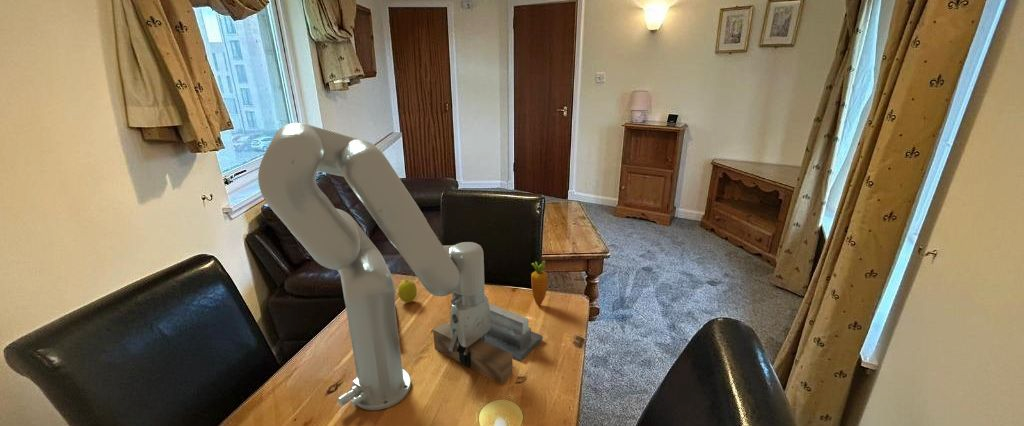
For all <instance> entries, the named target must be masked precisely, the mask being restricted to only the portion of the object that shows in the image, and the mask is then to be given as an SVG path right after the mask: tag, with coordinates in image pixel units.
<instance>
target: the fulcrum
mask: <svg viewBox="0 0 1024 426" xmlns="http://www.w3.org/2000/svg"><path fill="white" fill-rule="evenodd" d="M489 308H490V317H491V328H490V330H489V331H488V332H487V333H486V334H485V336H484V337H485V340H484V341H485V342H487V343H490V344H492V345H494V346H496V347H498V348H500V349H502V350H505V351H507V352H509V353H511V354H512V359H513V358H514V359H516V360H518V361H520V362H522V361H523V360H524V359H525V358H526V357H527V356H528V355H529V354H530V353H532V351H534V349H535V348H536V347H537V346H538V345H540V343H542V342H543V335H542V334H539V333H537V332H534V331H532V327H529V318H527V317H525V316H522V315H520V314H517V313H515V312H514V311H513V312H512V311H510V310H507V309H505V308H502V307H499V306H497V305H495V304H492V303H490V302H489Z"/></svg>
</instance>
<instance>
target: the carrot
mask: <svg viewBox="0 0 1024 426" xmlns="http://www.w3.org/2000/svg"><path fill="white" fill-rule="evenodd" d="M545 264H546V261H545V260H542V262H541V263H540V264H539V263H538V262H537V261H534V262H532V263H531V266H532V267H533V269H534V271H533V272H532V273H531V275H530V276H531V277H530V278H531V279H530V280H531V291H532V295H533V298H534V302H535V304H536V305H537V306H538V307H539V306H541V305H542V304H543V301H544V300H545V298H546V294H547V290H548V274H547V272H546V271H544V268H545Z"/></svg>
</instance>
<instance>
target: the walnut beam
mask: <svg viewBox="0 0 1024 426" xmlns="http://www.w3.org/2000/svg"><path fill="white" fill-rule="evenodd" d="M432 331H433V332H432V333H433V344H434V350H436V351H438V352H440V353H442V354H444V355H445V356H448V357H450V358H451V359H454V360H455V361H457V362H459V363H460V360H459V352H452V351H450V350H449V346H450V343H451V334H450V323H447V322H443V323H440V324H439V325H438V326H436V327H435V328H433V329H432ZM462 348H464V347H463V346H462ZM469 353H470V359H471V367H469V368H471V369H472V370H475V371H476V372H478V373H480V374H481V375H484V376H486V378H487V377H488V378H490V379H491V380H493V381H495V382H497V383H499V384H501V385H503V384H504V383H505V382H507V381H508V380H509V379H510V378H511V377H512V375H513V357H512V354H511V353H509V352H507V351H505V350H502V349H500V348H498V347H496V346H494V345H492V344H490V343H487V342H485V341H483V340H481V339H478V340H477V341H475V342H474V343H473V344H471V345H470V346H469Z"/></svg>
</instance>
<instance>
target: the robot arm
mask: <svg viewBox="0 0 1024 426" xmlns="http://www.w3.org/2000/svg"><path fill="white" fill-rule="evenodd" d="M318 172H321V173H324V174H328V175H333V176H339V177H343V178H344V180H345V182H346V183H347V184H348V186H349V187H350V189H351V190H352V191H353V193H354V194H355V196H356V197H357V198H358V199H359V201H360V202H361V203H362V205H363V206H364V208H365V209H366V210H367V211H368V213H369V214H370V216H371V217H372V219H373V220H374V221H375V222H376V224H377V226H378V227H379V228H380V229H381V231H382V232H383V234H384V235H385V237H386V238H387V239H388V241H389V242H390V243H391V244H392V246H394V248H396V250H397V251H398V252H399V254H400V256H401V257H403V259H404V261H405V262H406V264H407V265H408V266H409V268H410V269H411V271H412V272H413V273H414V275H415V276H416V277H417V279H418V280H419V282H420V283H421V284H422V286H423V287H424V288H425V290H426V292H428V293H429V294H430V295H433V296H435V297H446V296H447V297H448V296H449V295H451V296H452V299H451V300H450V303H451V306H450V307H451V308H450V317H449V325H450V334H451V343H450V346H449V350H450V351H452V352H459V360H460V362H459V364H461V365H463V366H464V367H466V368H470V367H471V359H470V353H469V346H470V345H471V344H473V343H474V342H475V341H477V340H478V339H481V340H483V341H484V340H485V337H484V336H485V334H486V333H487V332H488V331H489V330H490V328H491V317H490V308H489V303H490V302H489V299H488V297H487V294H486V292H485V291H486V290H485V289H486V288H485V263H484V261H485V259H484V257H485V256H484V250H483V248H482V246H481V245H480V244H478V243H476V242H473V241H464V242H463V241H462V242H458V243H456V244H453V245H443V244H442V243H441V241H440V240H439V238H438V237H437V235H436V233H435V232H434V231H433V229H432V228H431V226H430V224H429V223H428V220H427V218H426V217H425V215H424V213H423V212H422V211H421V208H420V207H419V206H418V204H417V202H416V201H415V200H414V198H413V196H412V195H411V193H410V192H409V191H408V189H407V188H406V186H405V184H404V183H403V182H402V180H401V178H400V177H399V176H398V174H397V172H396V171H395V169H394V167H393V166H392V164H391V163H390V162H389V160H388V159H387V157H386V156H385V154H384V153H383V152H382V151H381V150H380V149H379V148H378V147H377V146H376V145H374V144H373V143H371V142H369V141H367V140H364V139H360V138H357V137H352V136H350V135H349V136H348V135H345V134H341V133H339V132H334V131H331V130H328V129H324V128H320V127H318V126H314V125H312V124H307V123H302V122H293V123H292V122H291V123H288V124H285V125H283V126H282V127H281V126H280V128H279V129H278V130H277V131H276V132H275V134H274V136H273V137H272V139H271V141H270V143H269V144H268V146H267V148H266V150H265V152H264V154H263V156H262V159H261V161H260V164H259V167H258V172H257V173H258V176H257V177H258V178H257V179H258V186H259V190H260V193H261V195H262V198H263V199H264V200H265V201H264V202H266V204H267V206H268V207H269V208H270V210H272V212H273V213H274V214H275V216H276V217H277V218H278V219H280V222H281V223H283V224H284V225H285V227H286V228H287V230H289V232H290V233H291V234H292V235H293V237H295V239H296V240H297V241H298V242H299V243H300V244H301V245H302V246H303V248H305V250H306V251H307V252H308V254H309V255H310V256H311V257H312V259H313V260H314V261H315V262H316V263H317V264H319V265H320V266H322V267H324V268H326V269H329V270H336V271H337V272H338V273H339V275H340V281H341V286H342V293H343V299H344V300H343V301H344V305H345V311H346V316H347V323H348V327H349V328H348V329H349V334H350V335H349V336H350V341H351V346H352V352H353V357H354V358H353V359H354V364H355V365H354V366H355V371H356V378H355V379H354V380H352V383H353V386H351V387H350V388H349V390H348V391H347V392H344V393H343V394H342V395H340V396H339V397H338V398H337V402H338V404H339V406H341V407H344V406H345V405H346V404H348V403H349V402H350V405H351V406H352V407H353V408H354V407H356V406H357V407H359V408H361V409H364V410H366V411H379V410H380V411H381V410H385V409H388V408H391V407H393V406H395V405H396V404H398V403H399V402H401V401H402V400H403V399H404V398H405V397H406V396H407V395H408V394H409V392H410V389H411V386H412V381H411V380H412V379H411V376H410V374H409V372H407V371H406V370H405V369H403V364H402V356H401V355H402V354H401V346H400V337H399V336H400V335H399V328H398V322H397V321H398V320H397V309H395V306H396V289H395V282H394V279H393V275H392V274H391V271H390V268H389V267H388V265H387V263H386V261H385V258H384V257H383V255H382V253H381V251H380V250H379V249H378V248H377V247H376V245H375V244H374V242H373V241H372V240H371V239H370V238H369V236H368V235H367V234H366V232H364V230H363V229H362V227H361V226H360V225H359V223H358V222H357V221H356V220H355V219H354V217H353V216H352V215H350V213H348V212H346V211H345V210H342V209H339V208H336V207H335V206H334V205H333V203H332V202H331V201H330V199H329V197H327V195H326V194H325V193H324V192H323V191H322V189H321V188H320V187H319V186H318V184H317V180H316V179H317V178H316V177H317V174H318ZM462 346H463V347H464V348H462Z"/></svg>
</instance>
